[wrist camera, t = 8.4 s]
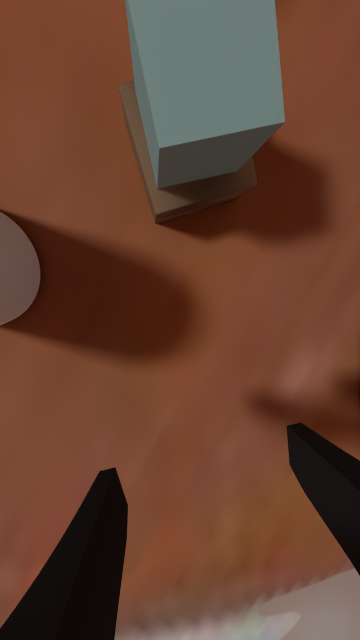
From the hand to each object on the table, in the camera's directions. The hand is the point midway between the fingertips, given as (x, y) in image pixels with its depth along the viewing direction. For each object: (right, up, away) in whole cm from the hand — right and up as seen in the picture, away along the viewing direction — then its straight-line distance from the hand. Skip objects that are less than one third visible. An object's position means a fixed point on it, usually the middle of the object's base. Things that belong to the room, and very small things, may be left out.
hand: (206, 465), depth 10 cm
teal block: (-1, +16, +3) cm, 16 cm away
